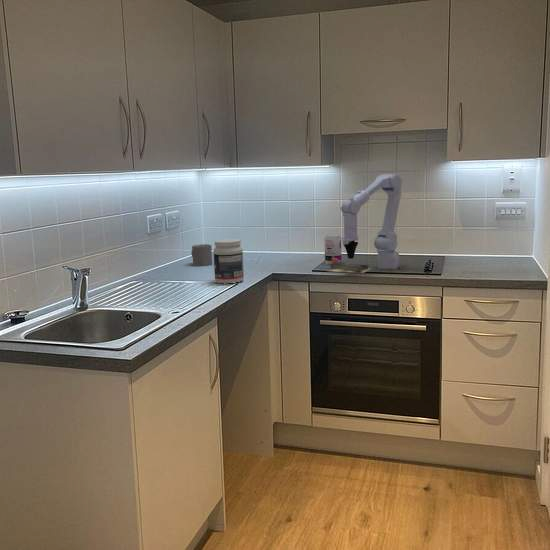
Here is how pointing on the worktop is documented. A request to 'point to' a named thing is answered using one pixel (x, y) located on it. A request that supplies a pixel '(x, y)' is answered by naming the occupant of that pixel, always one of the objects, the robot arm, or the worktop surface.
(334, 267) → the tongs body
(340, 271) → the board
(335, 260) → the tab
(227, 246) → the supplement tub
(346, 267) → the bar
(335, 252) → the supplement can
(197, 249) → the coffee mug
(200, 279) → the worktop surface
